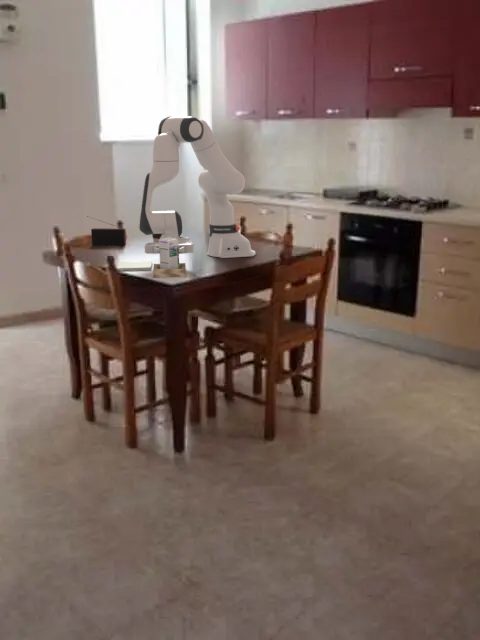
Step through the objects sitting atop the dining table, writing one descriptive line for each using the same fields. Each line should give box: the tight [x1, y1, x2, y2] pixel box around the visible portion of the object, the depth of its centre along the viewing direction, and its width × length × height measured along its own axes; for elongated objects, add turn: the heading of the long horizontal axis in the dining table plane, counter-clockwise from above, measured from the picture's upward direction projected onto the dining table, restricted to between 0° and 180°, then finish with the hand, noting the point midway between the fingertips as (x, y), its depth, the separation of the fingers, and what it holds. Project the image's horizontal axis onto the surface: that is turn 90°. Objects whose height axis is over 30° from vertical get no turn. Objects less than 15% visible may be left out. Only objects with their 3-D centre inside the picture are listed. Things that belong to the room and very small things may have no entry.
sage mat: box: [116, 260, 153, 272], centre depth 312 cm, size 14×14×1 cm
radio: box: [86, 215, 127, 247], centre depth 363 cm, size 19×3×15 cm, turn 84°
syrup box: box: [158, 238, 180, 269], centre depth 297 cm, size 6×6×14 cm
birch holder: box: [152, 262, 187, 278], centre depth 299 cm, size 13×13×3 cm
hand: (169, 251), depth 296 cm, fingers closed on syrup box, 8 cm apart
